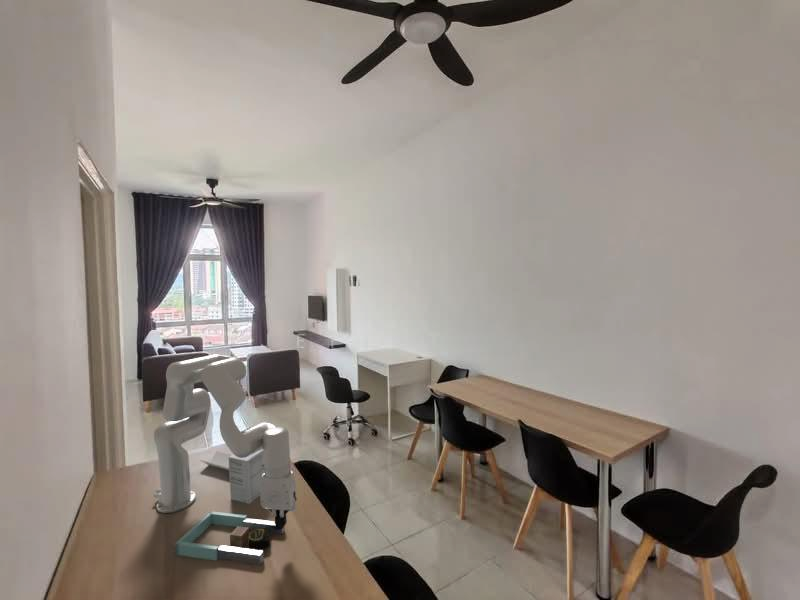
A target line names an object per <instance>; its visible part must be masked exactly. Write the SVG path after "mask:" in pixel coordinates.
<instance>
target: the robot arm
mask: <svg viewBox="0 0 800 600" xmlns="http://www.w3.org/2000/svg"><path fill="white" fill-rule="evenodd" d="M246 375H247V367H246V365H245V363H244V361H242V360H241V359H240V358H238V357H235V356H229V355H223V354H210V355H206V356H205V355H204V356H201V357H195V358H190V359H186V360H185V359H184V360H181V361H175V362H172V363H171V364H169V365H168V367H167V369H166V372H165V379H166V391H165V396H164V402H163V408H162V409H163V410H162V414H163V418H164V419H165V422H162V423H161V424H159V425H158V426H157V427H156V428H155V429H154V432H153V440H154V444H155V446H156V452H157V458H158V468H159V470H158V471H159V484H160V486H159V487H160V488H159V487H158V488H157V489H156V490H155V493H154V494H153V498H155V499H157V498H158V502H157V503H156V510H157V511H158V512H160V513H163V514H168V513H176V512H178V511H181V510H184V509H185V508H187V507H189V506H191V505H192V504H193V503H194V502H195V501H196V497H197V496H196V492H195V491H193V490H192V489H191V475H190V474H191V473H190V472H191V471H190V459H189V452H188V451H187V449H186V448H184V447H183V445H182V444H184V443H186V442H188V441H190V440H193V439H195V438H196V439H197V437H200V436H201V435H203V434H204V432H205V431H206V429H207V424H208V421H209V420H208V419H209V416H210V410H211V402H212V401H211V396H212V398H213V399H214V401H215V402H216V404H217V405H218V406H219V408H220V410H221V411H220V417H219V431H220V435H221V439H222V440H223V442H224V443H225V445H226V446H227V448H228V449H229V451H230V452H231V453H232V455H233V454H234V455H235V456H237V457H239V458H245V457H247V456H249V455H251V454H253V453H255V452H257V451H259V450H264V464H262V466H261V469H264V474H263V475H262V481H261V492H260V497H259V498H260V500H259V501H260V507H262V508H263V509H267V510H269V512H271V514H272V517H273V518H274V521H275V525H276V530H278V529H279V530H282V528H283V527H284V526H285V527H286V525H287V514H288V512H294V511H296V509H297V508H298V506H297V501H298V492H297V485H296V480H295V475H294V473H293V471H292V470H291V468H292V467H291V452H290V451H291V450H290V435H289V434H290V433H289V430H288V428H286V427H283V426H276V425H275V424H273V423H272V422H269V421H262V422H260V423H258V424H255V425H252V426H251V427H248V428H246V429H244V430H242V431H241V430H240V429H239V427H238V426H237V425H236V422H235V420H234V413H235V411H237V410H238V409H239V408H240V407H241V406H242V405H243V404H244V402H245V400H246V399H247V392H246V391H245V390H244V388H243V387H242V386H241V384H240V383H239V382H240V381H241V380H244V379H245V377H246ZM198 383H203V384H204V386H205V387H206V389H207V390H208V391H207V390H206V389H204V388H199V387H198V388H195V384H198ZM209 393H210V394H209ZM210 395H211V396H210Z"/></svg>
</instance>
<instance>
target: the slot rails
mask: <svg viewBox="0 0 800 600" xmlns="http://www.w3.org/2000/svg"><path fill="white" fill-rule="evenodd" d="M243 527H248V528H249V532H252V531H254V530H256V529H264V528H266V527H268V528H269V529H270V532H269V535H270V534H272V535H279V536H283V534H284V533H285V531H286V530H285V527H286V525H285V526H284V527H283V528H282V530H279V529H278V530H276V525H275V520H274V521H272V520H265V519H257V518H248V517H247V518H246V519H245V520H244V521H243ZM218 547H219V548H218V549H217V555H218V559H217V560H223V561H230V562H236V563H244V564H250V565H257V566H258V565H259V566H261V564H262V563H264V561H265V559H264V557H265V556H264V550H253V549H249V548H246V547H245V548H244V547H243V548H238V547H231V546H230V545H224V544H223V545H220V546H218Z"/></svg>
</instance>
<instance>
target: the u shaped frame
mask: <svg viewBox="0 0 800 600" xmlns="http://www.w3.org/2000/svg"><path fill="white" fill-rule="evenodd" d="M246 518H248V515H247V514H246V515H245V514H237V513H236V514H235V513H229V512H228V513H227V512H220V511H219V512H218V511H211V510H210V511H209V512H208V513H206V515H204V516H203V517H202V518H201V519H200V520H199V521H198V522H197V523H196V524H195V525H194V526H192V528H191V529H189V530H187V532H186V533H184V535H182V537H180V538H179V539H178V540H177V541H176V542H175V543H174V550H175V556H182V557H187V558H188V557H189V558H196V559H204V560H211V561H218V560H219V559H218V555H217V549H218V548H219V547H220V546H217V545H216V546H215V545H211V544H210V545H209V544H203V543H196V542H195V541H196V539H197V538H198V537H200V536H201V535H202V534H203V533H204V531H206V529H208V528H209V527H210V526H211V525H218V526H219V525H220V526H228V527H229V526H230V527H237V526H240V527H243V521H244V520H245V519H246ZM194 542H195V543H194Z"/></svg>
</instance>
